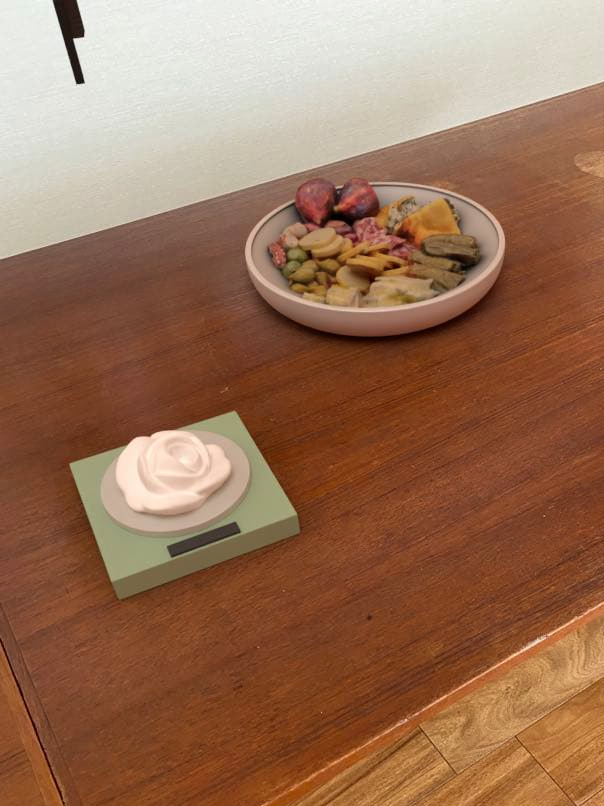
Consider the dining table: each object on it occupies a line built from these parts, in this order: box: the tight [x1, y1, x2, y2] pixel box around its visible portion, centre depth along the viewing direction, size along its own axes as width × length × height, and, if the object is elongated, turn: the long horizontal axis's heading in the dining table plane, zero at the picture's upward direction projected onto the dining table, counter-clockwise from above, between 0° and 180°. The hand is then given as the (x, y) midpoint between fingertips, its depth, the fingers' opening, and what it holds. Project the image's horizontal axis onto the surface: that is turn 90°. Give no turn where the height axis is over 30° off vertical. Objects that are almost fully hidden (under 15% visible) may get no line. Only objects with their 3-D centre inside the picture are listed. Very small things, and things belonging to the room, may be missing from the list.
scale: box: [68, 410, 301, 601], centre depth 77 cm, size 16×16×3 cm
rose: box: [116, 430, 232, 515], centre depth 74 cm, size 10×4×10 cm
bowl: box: [244, 177, 506, 337], centre depth 101 cm, size 30×30×8 cm
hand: (0, 90), depth 76 cm, fingers open, 13 cm apart
